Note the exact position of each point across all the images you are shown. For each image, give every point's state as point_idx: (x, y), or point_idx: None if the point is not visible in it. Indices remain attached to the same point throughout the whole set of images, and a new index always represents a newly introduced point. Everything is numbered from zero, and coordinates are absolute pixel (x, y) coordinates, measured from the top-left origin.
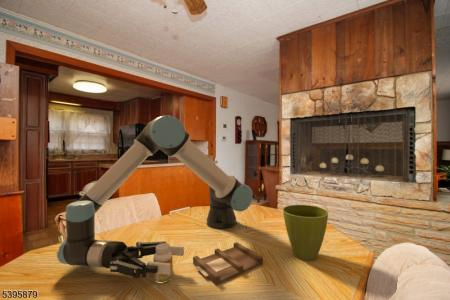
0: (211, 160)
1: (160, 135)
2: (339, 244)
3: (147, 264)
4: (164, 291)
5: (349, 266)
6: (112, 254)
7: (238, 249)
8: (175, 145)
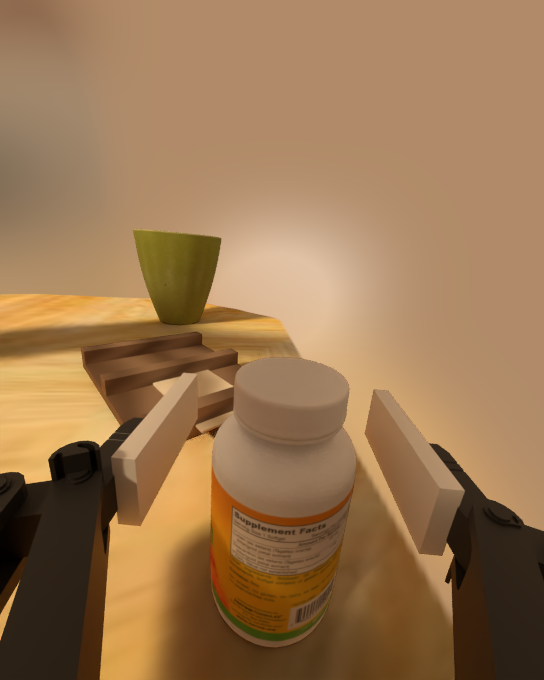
0: None
1: None
2: None
3: (457, 497)
4: (370, 525)
5: (220, 310)
6: None
7: (115, 357)
8: None
